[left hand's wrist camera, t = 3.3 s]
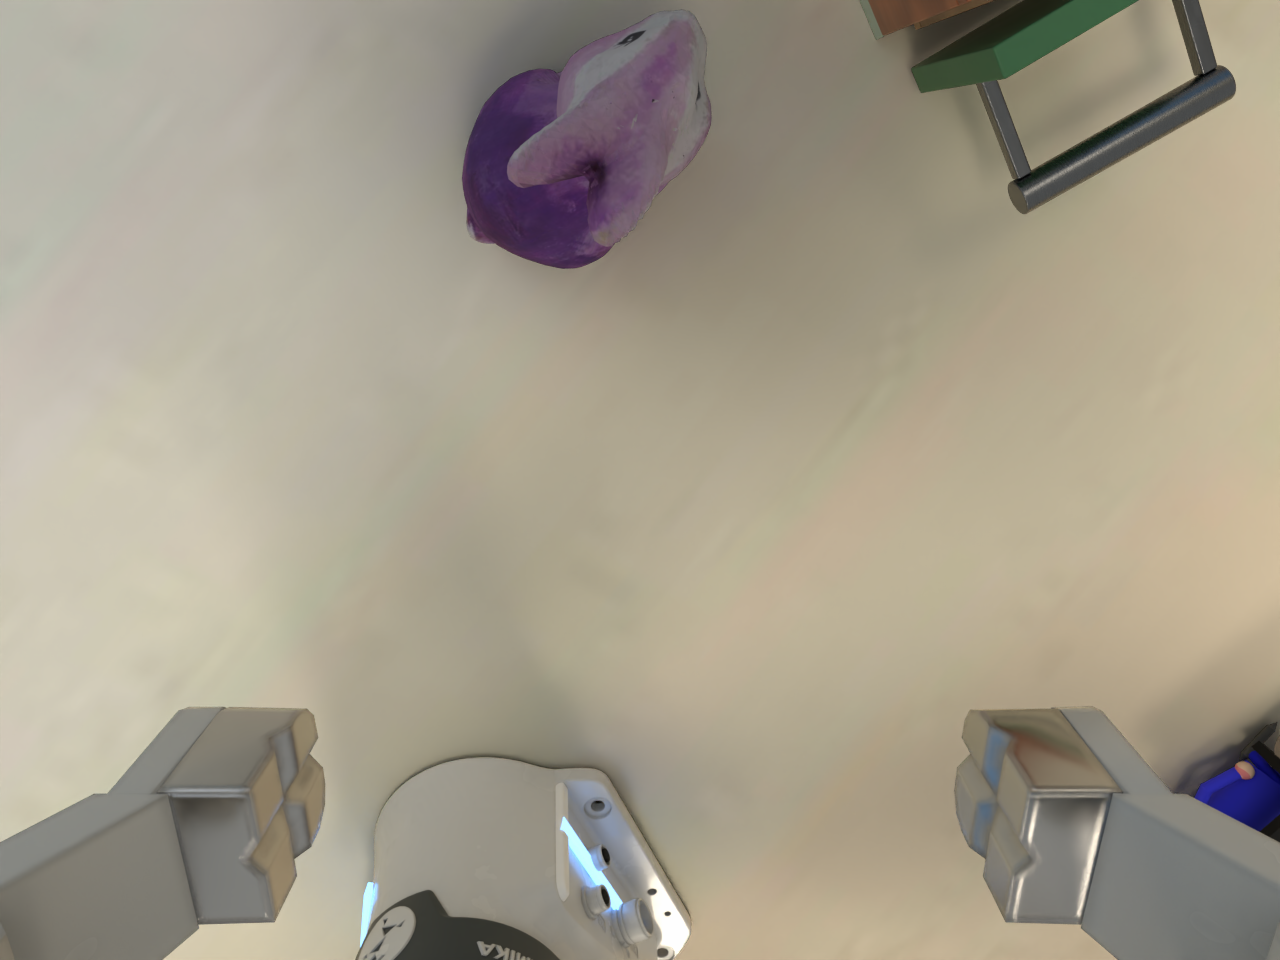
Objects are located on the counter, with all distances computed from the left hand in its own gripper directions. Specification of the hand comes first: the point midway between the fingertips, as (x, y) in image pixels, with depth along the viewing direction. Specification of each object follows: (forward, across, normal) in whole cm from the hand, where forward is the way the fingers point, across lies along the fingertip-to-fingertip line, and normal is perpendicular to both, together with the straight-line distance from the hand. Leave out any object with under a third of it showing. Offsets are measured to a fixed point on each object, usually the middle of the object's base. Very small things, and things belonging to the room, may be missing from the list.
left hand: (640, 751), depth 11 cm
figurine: (+34, +3, -8) cm, 35 cm away
